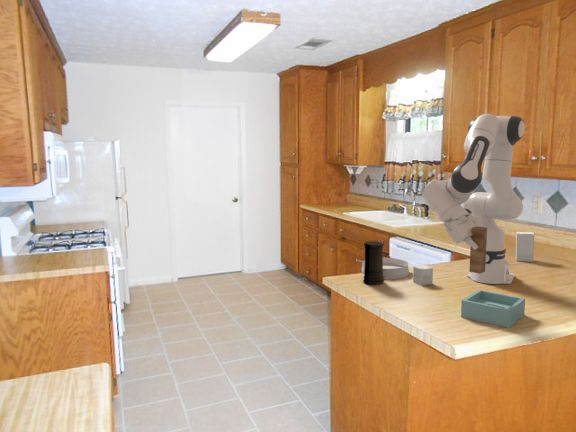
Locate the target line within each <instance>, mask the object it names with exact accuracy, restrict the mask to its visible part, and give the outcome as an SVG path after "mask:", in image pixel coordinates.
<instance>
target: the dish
mask: <svg viewBox="0 0 576 432" xmlns="http://www.w3.org/2000/svg"><path fill="white" fill-rule="evenodd" d="M364 270H365V259H364V260H362V262H361V274H363V275H364V274H365V272H364ZM409 271H410V270H409V262H408V261H406V260H403V259H399V258H395V257H383V277H384V278H383V280H384V279H385V280H388V279H389V280H391V279H393V280H394V279H402V278H405V277H408V275H409Z"/></svg>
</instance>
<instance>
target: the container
mask: <svg viewBox="0 0 576 432" xmlns="http://www.w3.org/2000/svg"><path fill="white" fill-rule="evenodd" d="M363 245H364V249H365V250H364V260H365V270H364V272H365V274H363V275H364V276H363V279H362V281H363V283H364V284H365V285H369V286H380V285H383V284H384V282H385V280H384V279H383V278H384V277H383V258H384V257H383V256H384V253H383V252H384V251H383V248H384V245H385V244H384V242H382V241H377V240H376V241H375V240H374V241H373V240H372V241H370V240H369V241H365V242H364V244H363Z"/></svg>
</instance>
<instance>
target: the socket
mask: <svg viewBox="0 0 576 432" xmlns="http://www.w3.org/2000/svg"><path fill="white" fill-rule="evenodd" d="M460 307H461V310H460V311H461V312H460V317H461V318H465V319H469V320H473V321H477V322H481V323H485V324H486V323H487V324H490V325H493V326H494V325H495V326H498V327H502V328H507V329H510V328H512V327H513V325H515V324H516V323H517V322H518V321H519V320H521V319H522V318H523V317H524V316H525V311H526V298H524V297H519V296H513V295H509V294H508V295H507V294H505V293H498V292H493V291H487V290H483V289H478V290H476V291H474V292H473V293H471V294H470V295H468V296H466V297H465V298H463V299H461V306H460Z"/></svg>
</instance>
